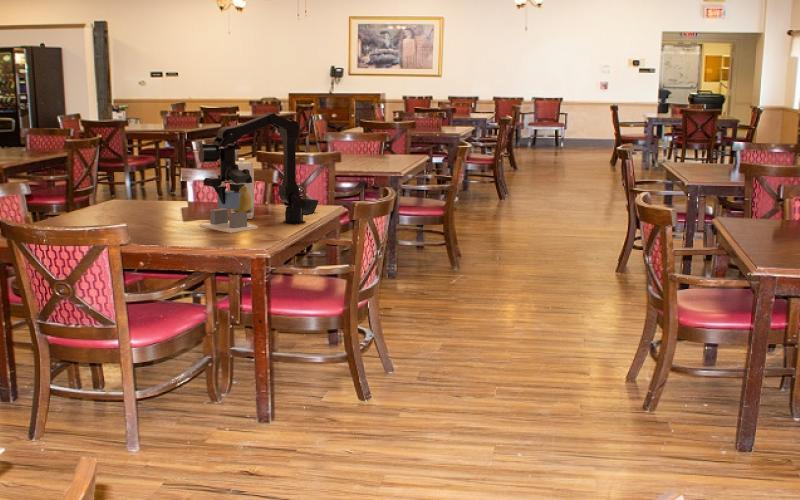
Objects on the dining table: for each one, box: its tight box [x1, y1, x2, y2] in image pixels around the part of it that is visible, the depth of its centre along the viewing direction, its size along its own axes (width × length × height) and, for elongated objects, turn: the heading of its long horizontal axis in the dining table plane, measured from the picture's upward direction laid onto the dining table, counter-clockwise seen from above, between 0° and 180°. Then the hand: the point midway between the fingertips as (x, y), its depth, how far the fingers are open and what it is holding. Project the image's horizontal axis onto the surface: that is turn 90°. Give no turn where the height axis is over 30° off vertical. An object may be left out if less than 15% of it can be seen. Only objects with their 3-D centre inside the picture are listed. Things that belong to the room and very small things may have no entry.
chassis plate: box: [199, 208, 259, 234], centre depth 330 cm, size 13×18×6 cm
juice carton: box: [229, 157, 255, 220], centre depth 351 cm, size 9×8×24 cm
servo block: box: [214, 189, 243, 210], centre depth 329 cm, size 4×11×6 cm, turn 49°
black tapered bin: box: [302, 198, 319, 216], centre depth 369 cm, size 12×7×10 cm
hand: (228, 203), depth 329 cm, fingers closed on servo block, 4 cm apart
